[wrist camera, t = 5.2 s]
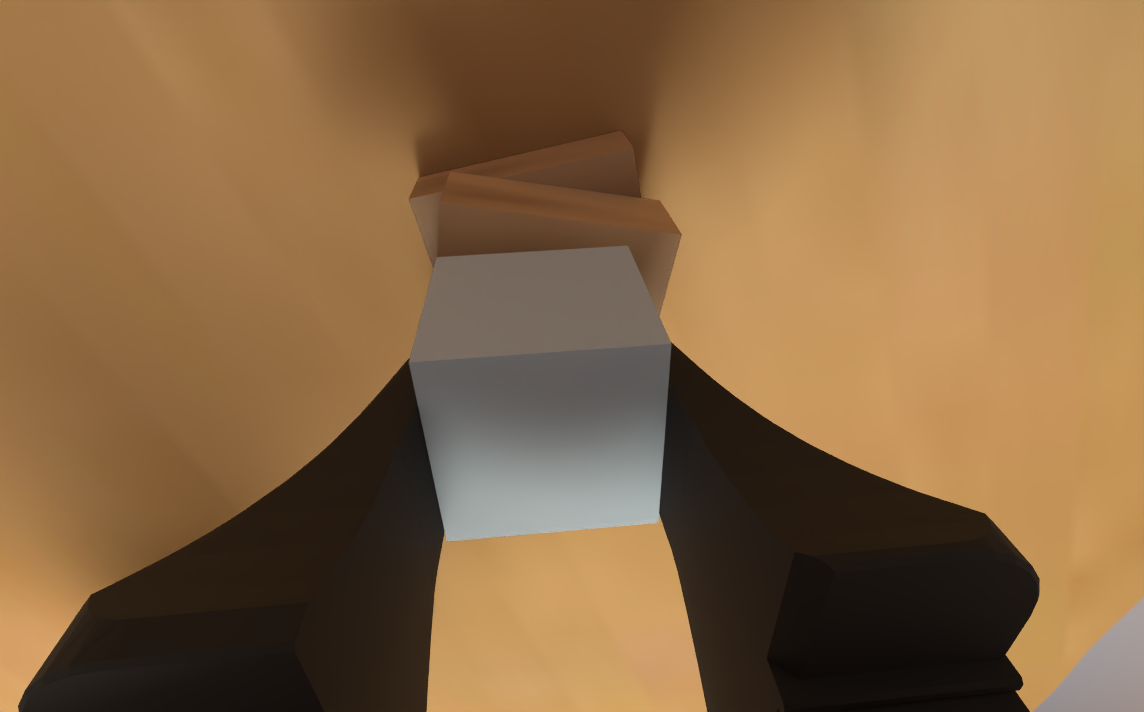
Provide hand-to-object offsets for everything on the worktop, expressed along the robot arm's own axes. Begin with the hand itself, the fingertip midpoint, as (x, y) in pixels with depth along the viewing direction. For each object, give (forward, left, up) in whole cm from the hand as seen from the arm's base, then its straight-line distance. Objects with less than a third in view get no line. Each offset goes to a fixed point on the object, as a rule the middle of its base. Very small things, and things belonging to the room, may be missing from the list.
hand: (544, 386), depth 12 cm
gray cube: (0, 0, -2) cm, 2 cm away
